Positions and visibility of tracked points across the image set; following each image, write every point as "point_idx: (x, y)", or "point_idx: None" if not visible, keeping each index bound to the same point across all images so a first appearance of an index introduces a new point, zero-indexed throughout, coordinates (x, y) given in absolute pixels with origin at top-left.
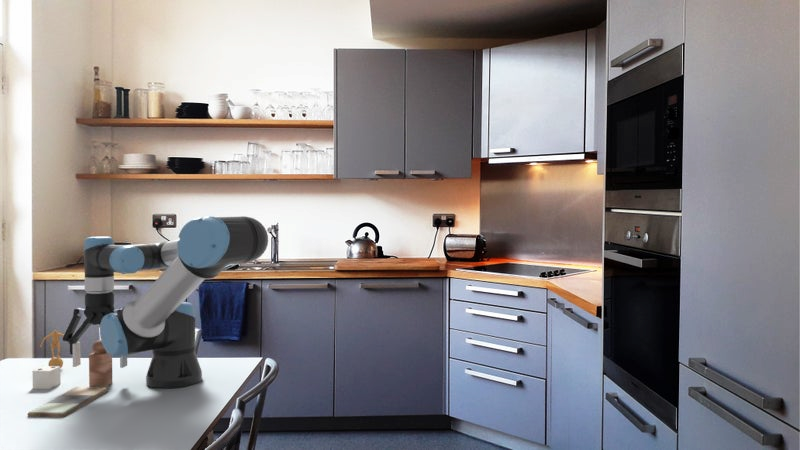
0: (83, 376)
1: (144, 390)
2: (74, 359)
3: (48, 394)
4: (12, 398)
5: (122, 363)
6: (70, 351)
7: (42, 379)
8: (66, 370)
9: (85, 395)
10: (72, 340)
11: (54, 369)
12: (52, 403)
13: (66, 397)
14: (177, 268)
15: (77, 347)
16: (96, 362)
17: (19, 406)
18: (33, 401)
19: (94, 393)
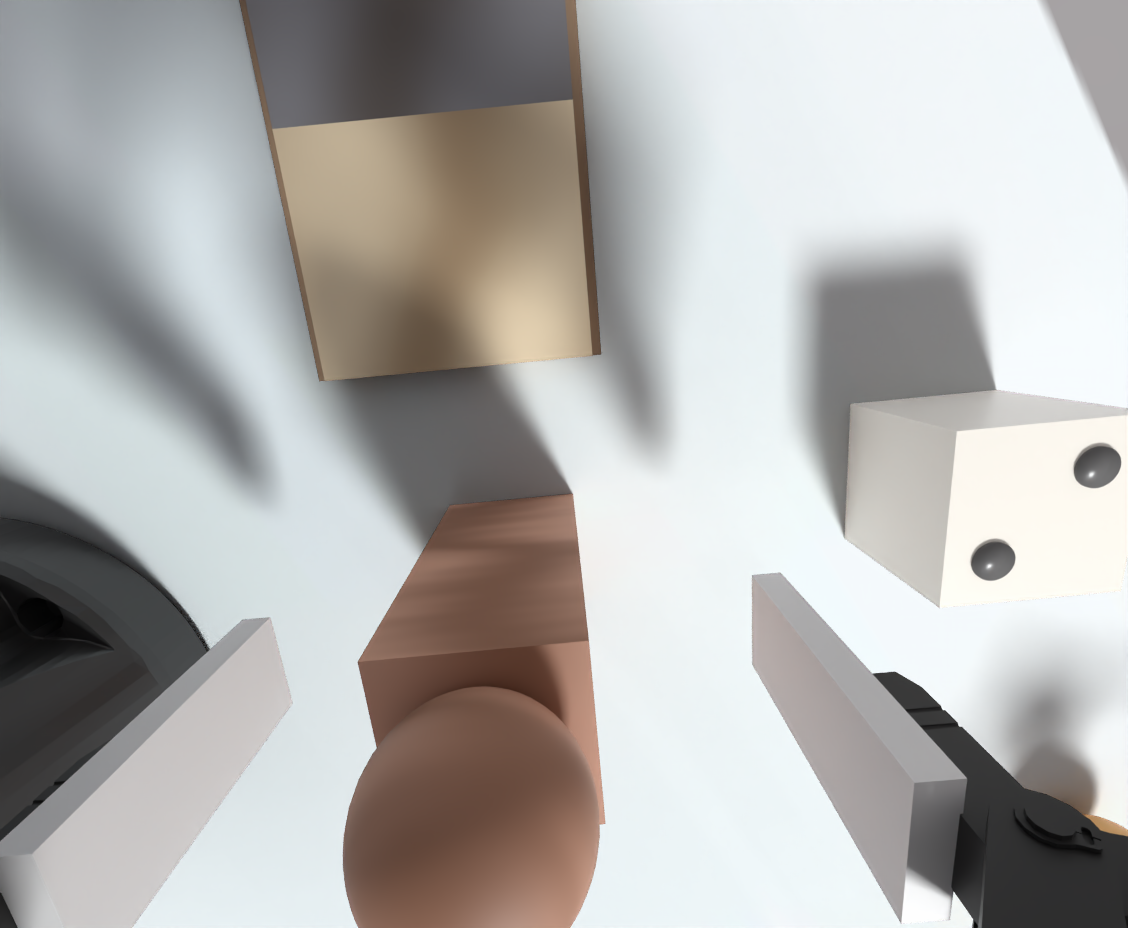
0: (776, 720)
1: (71, 456)
2: (795, 617)
3: (772, 241)
4: (1020, 77)
5: (214, 646)
6: (922, 699)
7: (970, 408)
8: None
9: (339, 110)
10: (1030, 851)
11: (945, 507)
12: None
13: (474, 16)
14: None
15: (861, 778)
16: (489, 592)
17: None
18: (783, 9)
19: (303, 189)
